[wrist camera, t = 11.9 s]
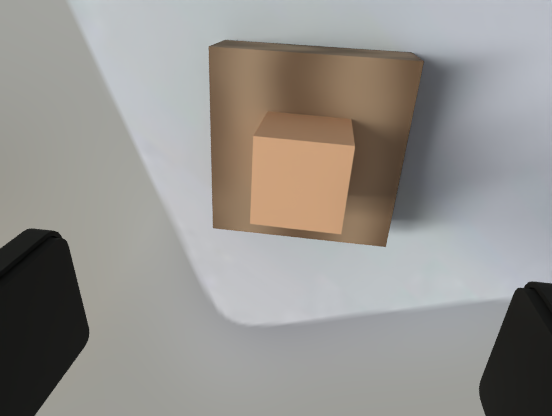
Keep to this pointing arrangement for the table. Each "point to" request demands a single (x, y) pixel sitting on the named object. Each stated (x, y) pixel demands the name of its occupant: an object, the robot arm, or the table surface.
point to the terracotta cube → (301, 171)
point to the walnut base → (319, 102)
